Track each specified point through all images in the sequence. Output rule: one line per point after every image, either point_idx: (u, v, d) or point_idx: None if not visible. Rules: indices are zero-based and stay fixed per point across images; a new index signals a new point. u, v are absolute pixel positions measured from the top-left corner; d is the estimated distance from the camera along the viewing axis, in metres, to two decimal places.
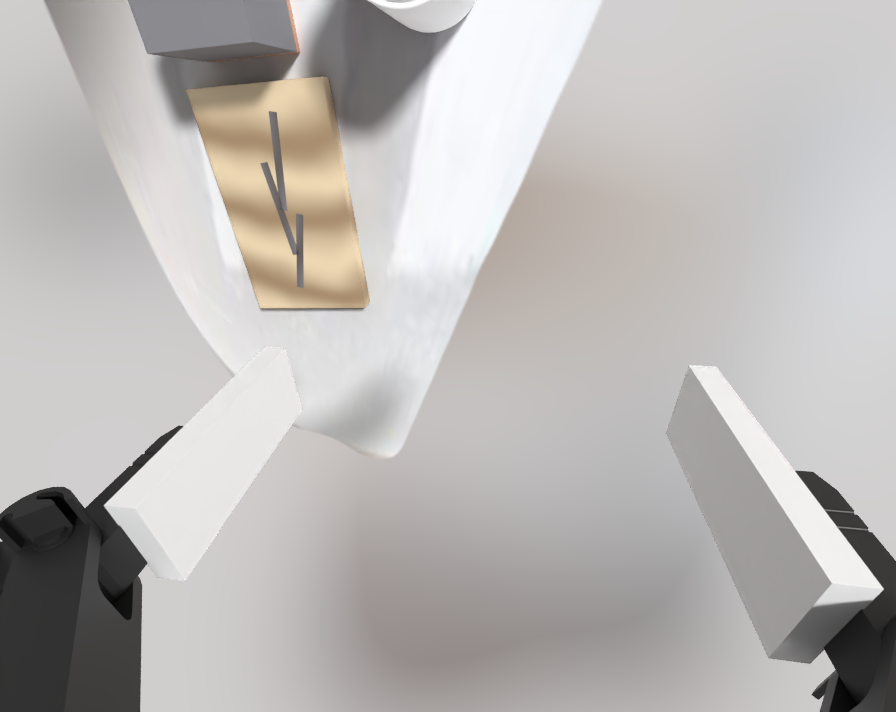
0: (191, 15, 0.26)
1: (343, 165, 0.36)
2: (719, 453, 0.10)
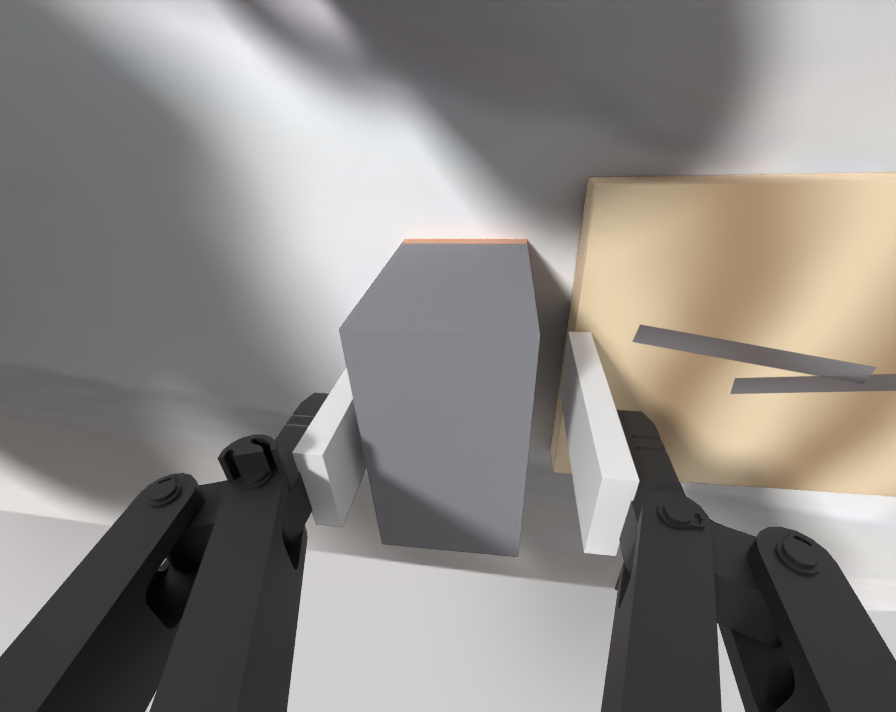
0: (462, 458, 0.11)
1: (820, 174, 0.12)
2: (575, 399, 0.12)
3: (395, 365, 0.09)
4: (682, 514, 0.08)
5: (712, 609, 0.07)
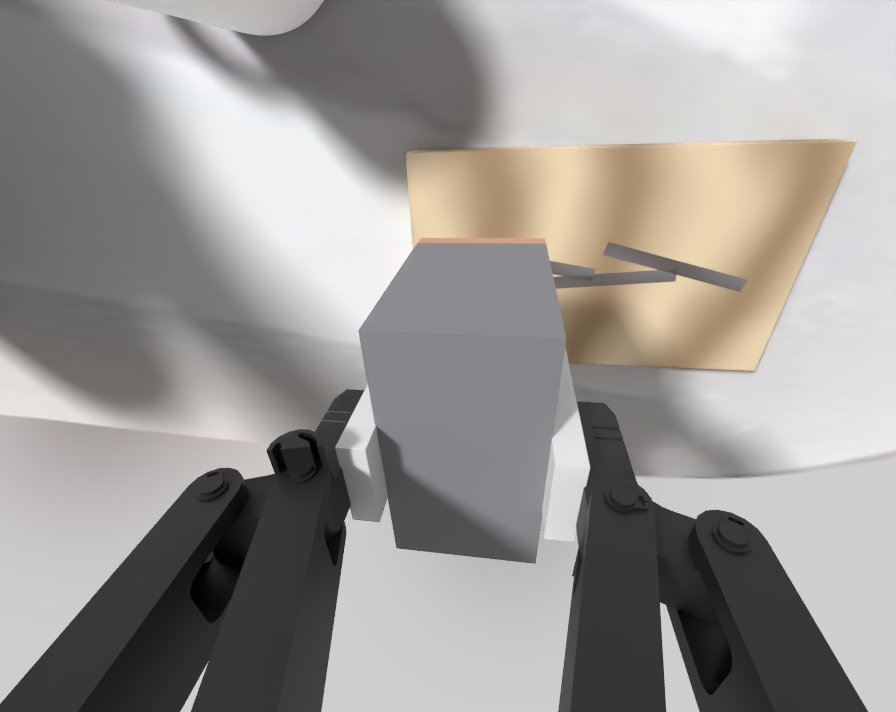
0: (481, 464, 0.11)
1: (538, 147, 0.20)
2: None
3: (414, 367, 0.09)
4: (627, 498, 0.08)
5: (656, 586, 0.07)
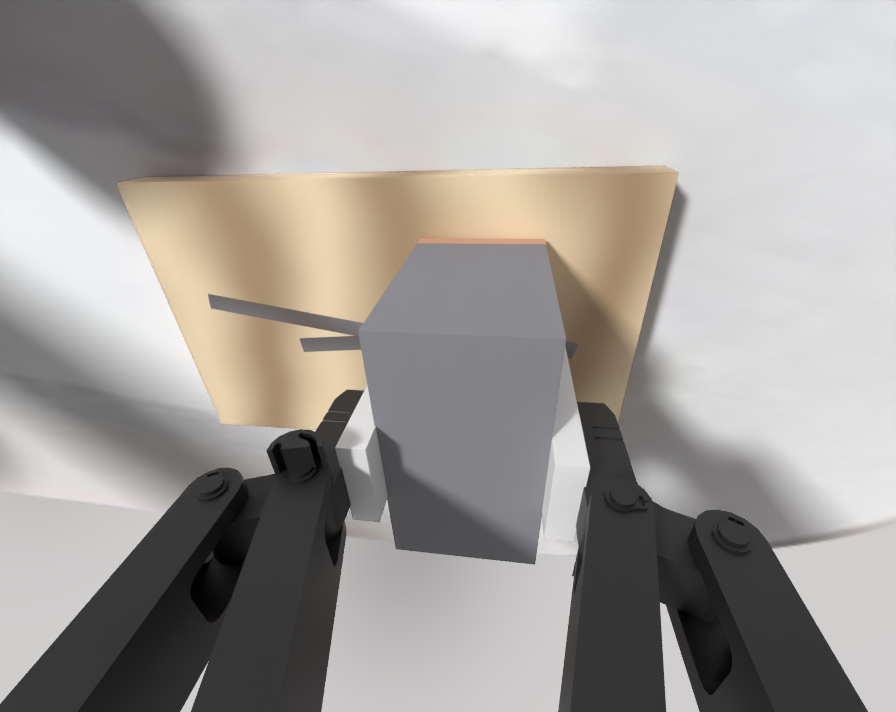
0: (481, 464, 0.10)
1: (291, 174, 0.15)
2: None
3: (414, 368, 0.09)
4: (627, 498, 0.08)
5: (656, 586, 0.07)
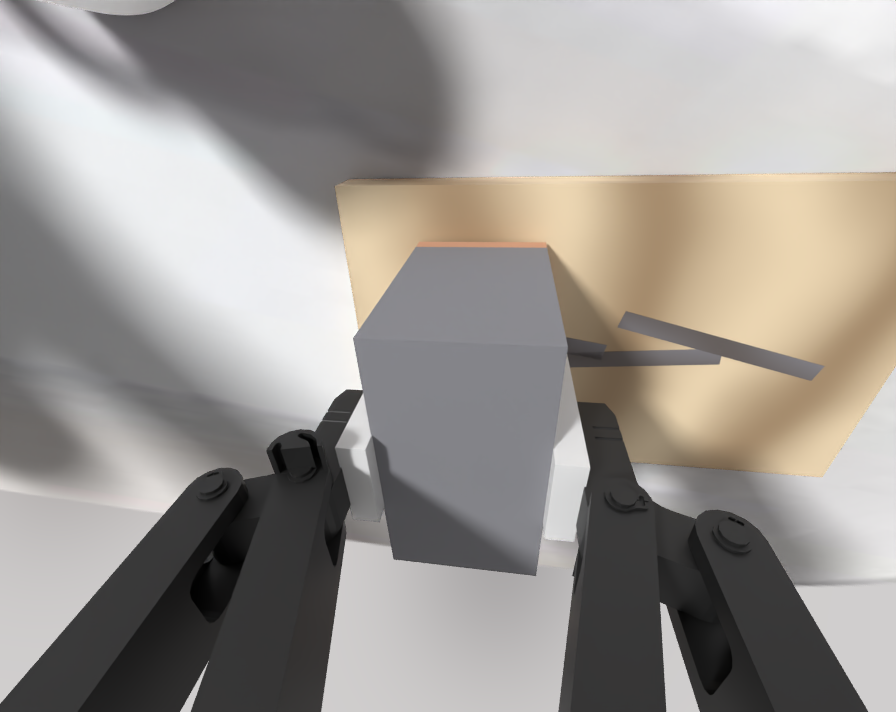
0: (480, 474, 0.10)
1: (526, 178, 0.14)
2: None
3: (411, 376, 0.09)
4: (627, 498, 0.08)
5: (656, 586, 0.07)
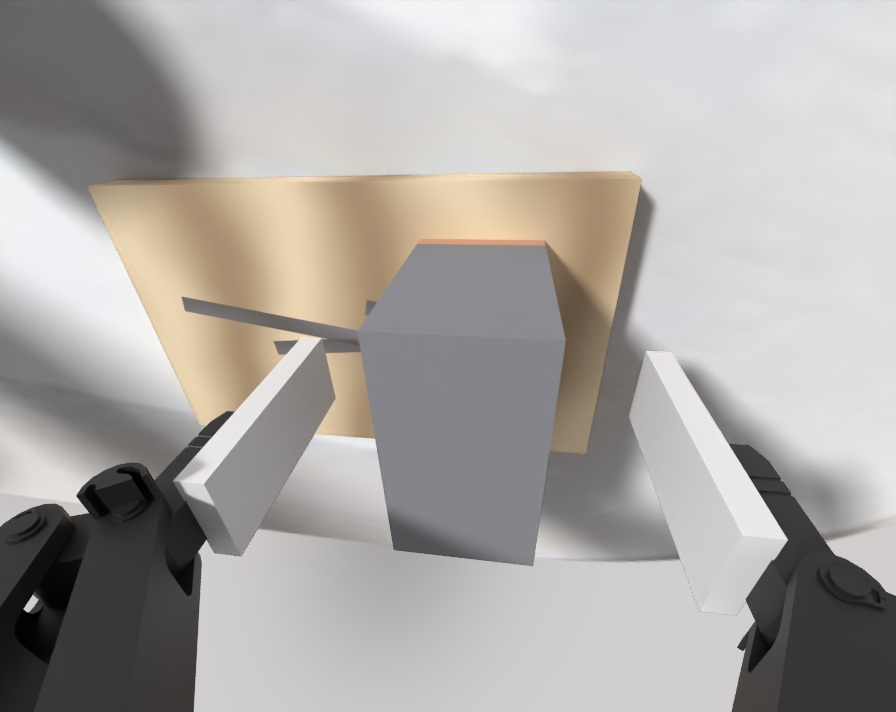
0: (480, 466, 0.10)
1: (262, 178, 0.15)
2: (667, 430, 0.11)
3: (413, 369, 0.09)
4: (854, 586, 0.07)
5: (892, 708, 0.06)
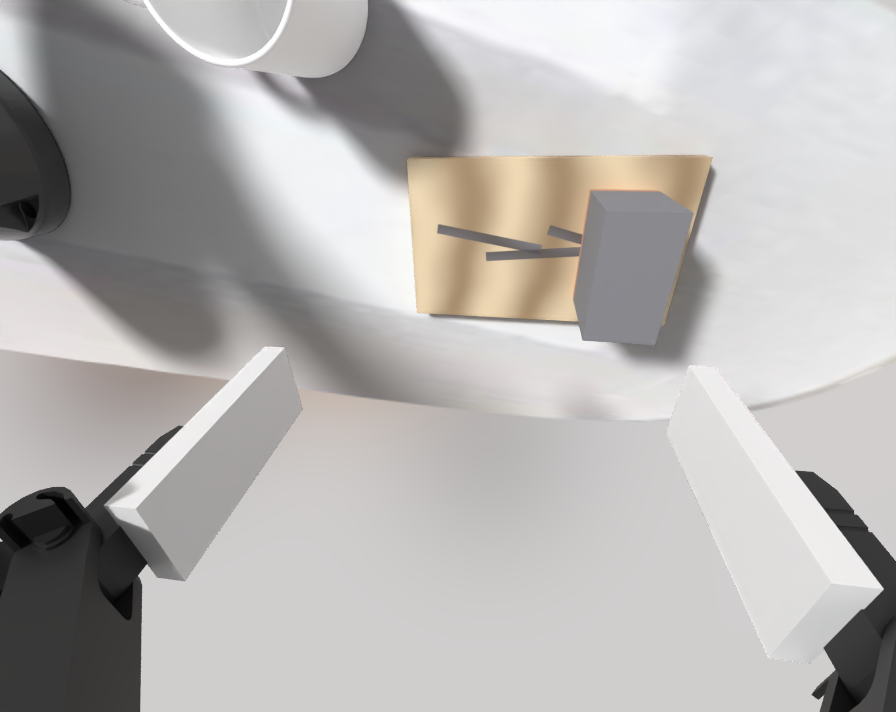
0: (642, 280, 0.23)
1: (500, 156, 0.29)
2: (719, 453, 0.10)
3: (625, 229, 0.22)
4: None
5: None
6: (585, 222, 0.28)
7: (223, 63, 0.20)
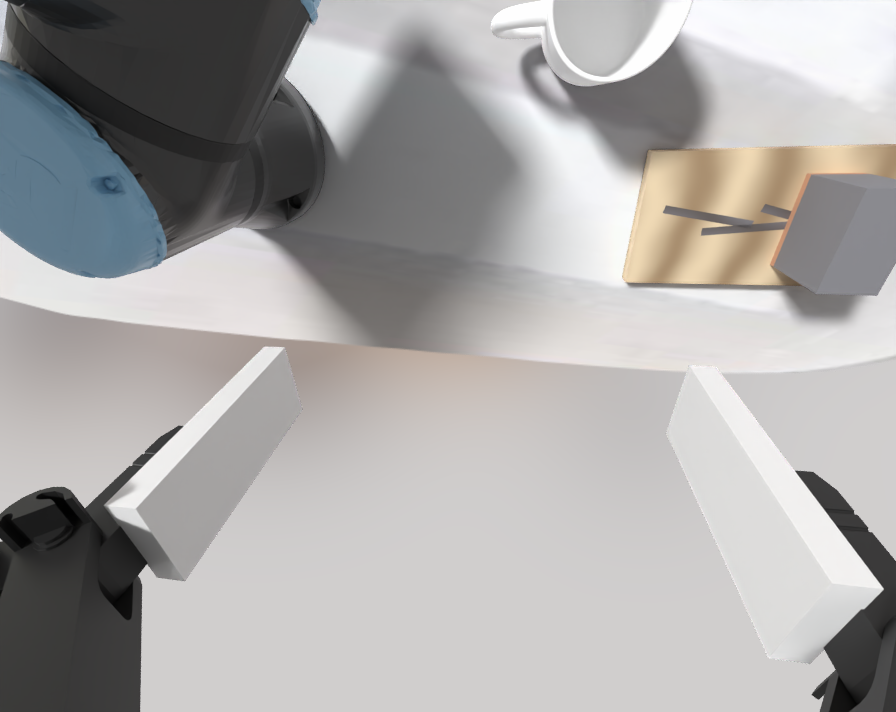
0: (881, 243, 0.30)
1: (728, 148, 0.35)
2: (719, 453, 0.10)
3: (879, 202, 0.29)
4: None
5: None
6: (799, 200, 0.35)
7: (600, 79, 0.26)
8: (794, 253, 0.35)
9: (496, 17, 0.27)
